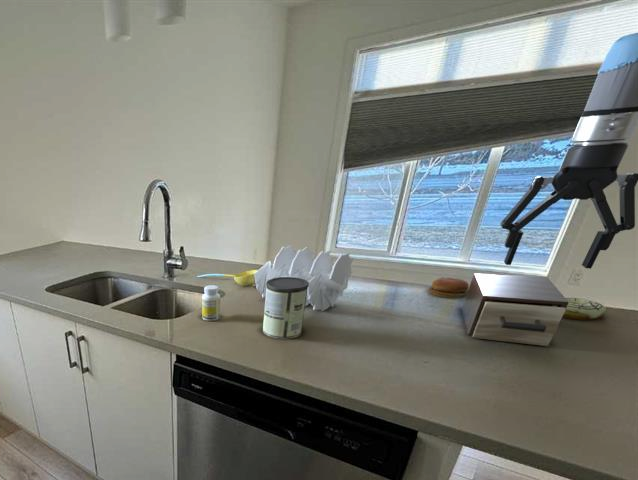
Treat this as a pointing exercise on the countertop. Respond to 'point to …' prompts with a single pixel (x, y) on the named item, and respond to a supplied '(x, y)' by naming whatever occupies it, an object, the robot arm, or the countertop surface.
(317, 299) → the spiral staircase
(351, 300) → the countertop surface
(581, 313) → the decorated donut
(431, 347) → the countertop surface
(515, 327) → the drawer
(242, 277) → the ladle
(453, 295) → the burger
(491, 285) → the cabinet
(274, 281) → the coffee can
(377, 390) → the countertop surface
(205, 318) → the supplement bottle
